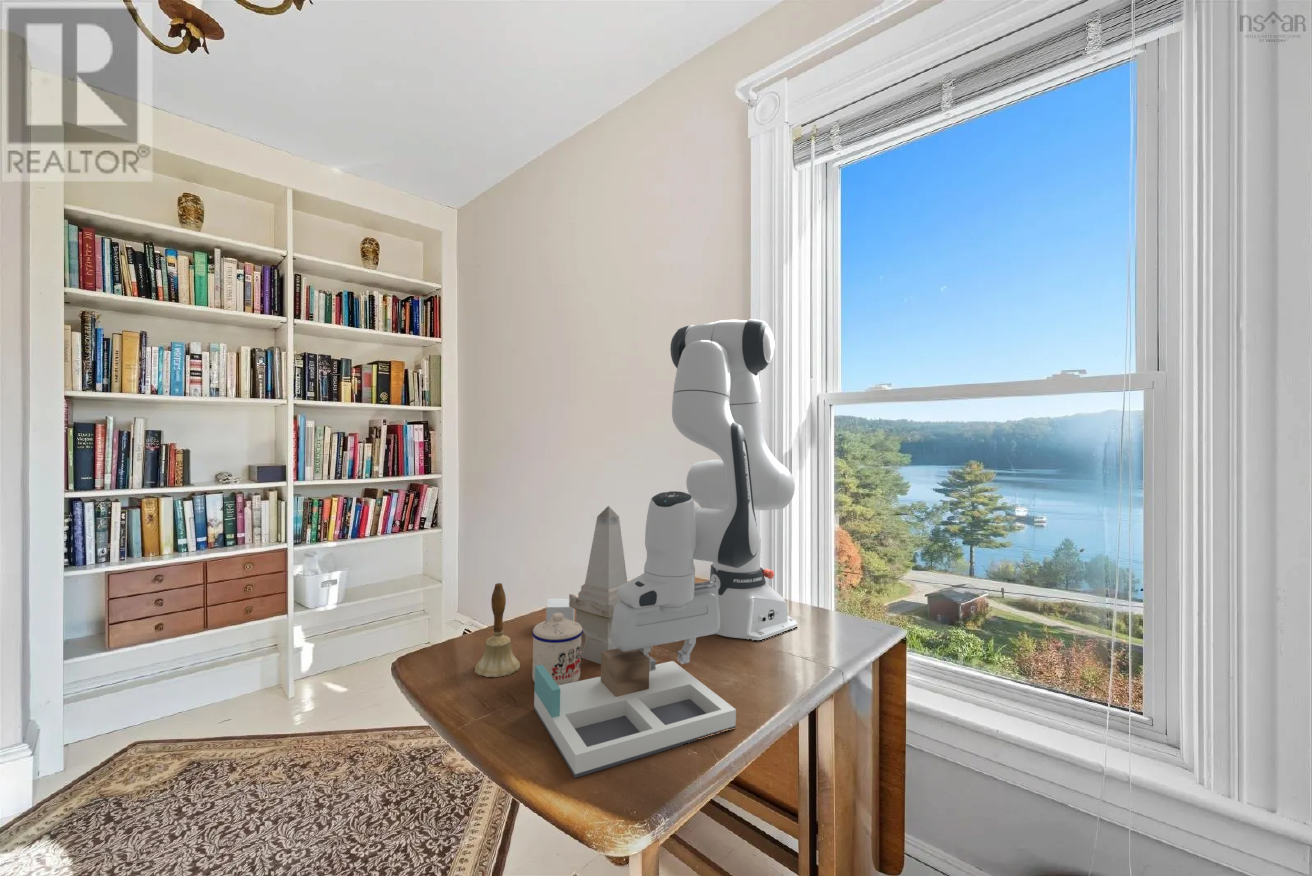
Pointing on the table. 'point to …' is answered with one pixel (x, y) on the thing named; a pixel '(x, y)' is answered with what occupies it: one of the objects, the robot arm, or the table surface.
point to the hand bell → (497, 643)
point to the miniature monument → (601, 586)
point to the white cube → (559, 608)
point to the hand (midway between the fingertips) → (666, 666)
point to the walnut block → (624, 671)
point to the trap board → (627, 717)
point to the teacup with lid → (559, 648)
